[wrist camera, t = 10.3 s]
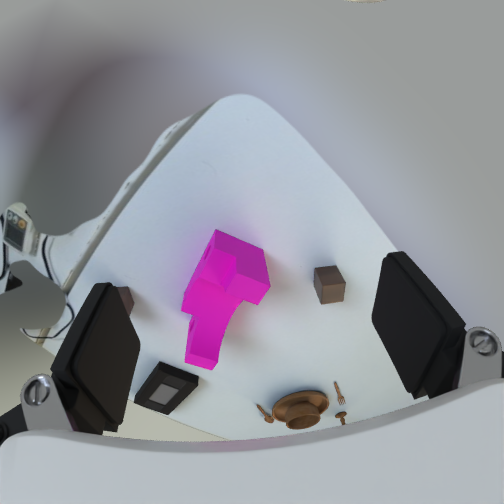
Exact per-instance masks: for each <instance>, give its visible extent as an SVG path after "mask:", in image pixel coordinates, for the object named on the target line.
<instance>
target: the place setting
mask: <svg viewBox="0 0 504 504" xmlns="http://www.w3.org/2000/svg"><path fill="white" fill-rule="evenodd" d="M334 385H335V388H336V391H337V393H338V396H339V398H338V401H339V399H340V398H341V399H342V398H343V400H344V397H343V396H341V395H340V392H339V389H338V386H337V384H336V382H335V383H334ZM341 399H340V402H341ZM343 400H342V402H343ZM340 402H339V404H340ZM342 402H341V404H342ZM344 402H345V400H344ZM343 404H344V403H343ZM328 406H329V400H328V398H327V397H326V396H325V395H324V394H322V393H320V392H316V391H302V392H297V393H293V394H290V395H287V396H285V397H283V398H282V399H280V400H279V401H277V402H276V403H275V405H274V406H273V408H272V416H273V417H274V418H275V419H276V420H278V421H281V422H286V426H287V427H288V428H290V429H305V428H309V427H311V426H314V425H315V424H317V423H318V422H319V421H320V414H322V413H323V412H324V411H325V410H326V409H327V408H328ZM340 406H341V405H340ZM257 407H258V409H259V410H260V411H261V412H262V413H263V414H264V416H265V421H266V422H268V423H273V422H274V419H273V418H272V417H271V416H267V415H266V414H265V412H264V411H263V409H262V408H261V407H260V406H259V405H257ZM346 414H347V413H346V412H341V413H338V414H337V415H336V416H335V417H336V418H341V419H340V421H341V423H342V425H346V424H345V419H344V418H343V417H344V416H345V415H346Z"/></svg>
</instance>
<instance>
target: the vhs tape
mask: <svg viewBox="0 0 504 504" xmlns="http://www.w3.org/2000/svg"><path fill="white" fill-rule="evenodd" d="M198 378H199V377H198V376H196V375H193V374H190V373H188V372H185V371H182V370H180V369H177V368H175V367H172V366H170V365H167V364H165V363H162V362H160V361H159V363H158V364H157V366H156V367H155V368H154V370H153V371H152V373H151V374H150V375H149V377H148V378H147V380H146V381H145V382H144V384H143V385H142V387H141V388H140V390H139V391H138V392H137V394H136V395H135V399H134V403H135V404H138V405H140V406H143V407H146V408H149V409H151V410H154V411H157V412H160V413H163V414H166V415H169V414H170V413H171V412H172V411H173V410H174V409H175V408H176V407H177V406H178V405H179V404H180V403H181V402H182V401H183V400H184V399H185V398H186V397H187V396H188V395H189V394H190V393H191V392H192V391H193V390H194V389H195V388H196V387H197V386H198Z"/></svg>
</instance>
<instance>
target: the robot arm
mask: <svg viewBox="0 0 504 504" xmlns="http://www.w3.org/2000/svg"><path fill="white" fill-rule="evenodd" d="M372 323H373V325H374V327H375V329H376V331H377V333H378V335H379V337H380V338H381V340H382V342H383V344H384V346H385V348H386V350H387V352H388V354H389V356H390V358H391V360H392V362H393V364H394V366H395V368H396V370H397V372H398V374H399V376H400V378H401V380H402V383H403V385H404V387H405V389H406V391H407V392H408V393H411V394H412V396H413V398H414V400H415V399H417V398H420V397H423V396H426V395H428V397H429V400H426V401H424V402H421V403H418V404H415V405H412V406H409V407H406V408H403V409H400V410H397V411H394V412H390V413H387V414H384V415H380V416H377V417H373V418H370V419H366V420H362V421H358V422H354V423H350V424H346V425H341V426H337V427H332V428H327V429H322V430H317V431H311V432H305V433H299V434H293V435H286V436H278V437H270V438H260V439H249V440H235V441H212V442H176V441H175V442H174V441H154V440H140V439H130V438H120V437H110V436H103V435H102V434H103V430H104V431H112V432H117V429H118V425H121V424H122V422H123V418H124V413H125V409H126V404H127V400H128V396H129V391H130V387H131V383H132V379H133V375H134V371H135V367H136V363H137V359H138V356H139V352H140V340H139V338H138V336H137V333H136V331H135V329H134V327H133V325H132V322H131V320H130V318H129V315H128V313H127V311H126V308H125V306H124V303H123V301H122V298H121V296H120V293H119V291H118V289H117V287H116V286H113V285H112V284H111V283H110V282H107V283H96V284H95V285H94V286H93V288H92V289H91V291H90V293H89V295H88V296H87V298H86V300H85V302H84V303H83V305H82V307H81V309H80V311H79V312H78V314H77V316H76V318H75V320H74V322H73V324H72V325H71V327H70V329H69V331H68V333H67V335H66V337H65V339H64V341H63V343H62V345H61V347H60V349H59V351H58V353H57V355H56V357H55V360H54V362H53V364H52V366H51V368H50V369H51V371H52V372H53V373H52V376H51V377H50V376H49V375H46V374H38V375H35V376H33V377H31V378H30V379H29V380H28V381H27V382H26V383H25V384H24V386H23V388H22V390H21V394H20V397H21V404H19V405H17V406H16V407H15V408H13V409H11V410H10V411H8V412H7V413H5V414H4V415H2V416H0V504H504V352H503V351H502V349H501V348H502V347H501V342H500V341H499V338H498V337H497V336H496V335H495V333H493V332H492V331H490V330H489V329H487V328H484V327H473V328H471V329H469V331H468V332H467V331H466V330H465V329H464V327H465V325H466V323H465V322H464V321H463V320H462V318H461V317H460V316H459V314H458V313H457V312H456V311H455V309H454V308H453V307H452V306H451V304H450V303H449V302H448V301H447V300H446V298H445V297H444V296H443V295H442V294H441V292H440V291H439V290H438V289H437V288H436V286H435V285H434V284H433V283H432V282H431V281H430V280H429V279H428V277H427V276H426V275H425V274H424V273H423V272H422V271H421V269H419V267H418V266H417V265H416V264H415V263H414V262H413V261H412V260H411V258H409V256H408V255H407V254H406V253H405V252H403V251H401V252H392V253H388V254H387V256H386V257H385V258H384V259H383V261H382V266H381V272H380V278H379V283H378V288H377V293H376V298H375V302H374V307H373V312H372Z"/></svg>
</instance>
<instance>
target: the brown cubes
mask: <svg viewBox="0 0 504 504" xmlns="http://www.w3.org/2000/svg"><path fill="white" fill-rule="evenodd" d="M345 284H346V282H345V280H344V279H343V277H342V275H341V273H340V272H339V270H338V268H337V266H336V265H335V266H327V267H319V268H315V271H314V288H315V290H316V293H317V295H318V298H319V300H320V303H321V304H329V303H336V302H342V301H343V300H344V292H345ZM117 289H118V291H119V293H120V296H121V298H122V301H123V303H124V306H125V308H126V311H127V313H128V315H129V316H130V314H131V311H132V308H133V306H134V301H133V299H132V296H131V293H130V291H129V288H128V286H127V287H117Z"/></svg>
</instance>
